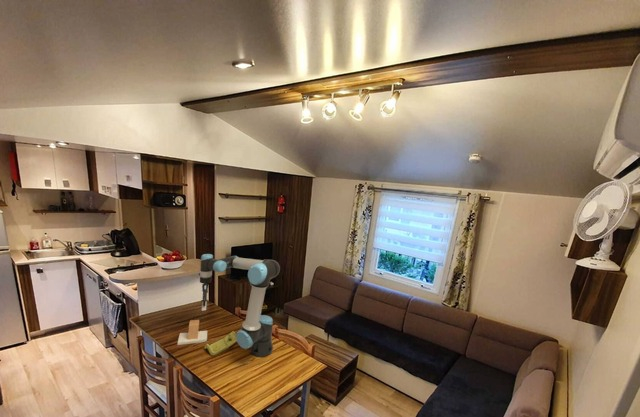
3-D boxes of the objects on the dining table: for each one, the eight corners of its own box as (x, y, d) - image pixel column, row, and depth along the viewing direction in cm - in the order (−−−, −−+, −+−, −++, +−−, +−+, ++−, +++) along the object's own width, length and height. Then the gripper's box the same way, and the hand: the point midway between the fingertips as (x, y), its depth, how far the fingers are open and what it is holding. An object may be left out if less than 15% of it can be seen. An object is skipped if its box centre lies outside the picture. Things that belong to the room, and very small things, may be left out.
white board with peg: (206, 341, 180) (207, 332, 180) (177, 344, 173) (178, 335, 173) (207, 332, 191) (207, 324, 191) (179, 335, 184) (180, 326, 184)
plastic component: (213, 354, 164) (205, 341, 169) (210, 361, 167) (203, 349, 172) (240, 340, 179) (232, 329, 184) (237, 347, 182) (230, 335, 187)
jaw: (197, 338, 180) (198, 324, 180) (188, 339, 178) (189, 325, 177) (198, 333, 187) (199, 319, 186) (189, 334, 184) (190, 320, 184)
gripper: (200, 271, 191) (199, 299, 192) (199, 282, 169) (197, 314, 169) (211, 270, 194) (209, 298, 195) (211, 281, 171) (209, 313, 172)
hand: (204, 306), depth 182 cm, fingers open, 13 cm apart
